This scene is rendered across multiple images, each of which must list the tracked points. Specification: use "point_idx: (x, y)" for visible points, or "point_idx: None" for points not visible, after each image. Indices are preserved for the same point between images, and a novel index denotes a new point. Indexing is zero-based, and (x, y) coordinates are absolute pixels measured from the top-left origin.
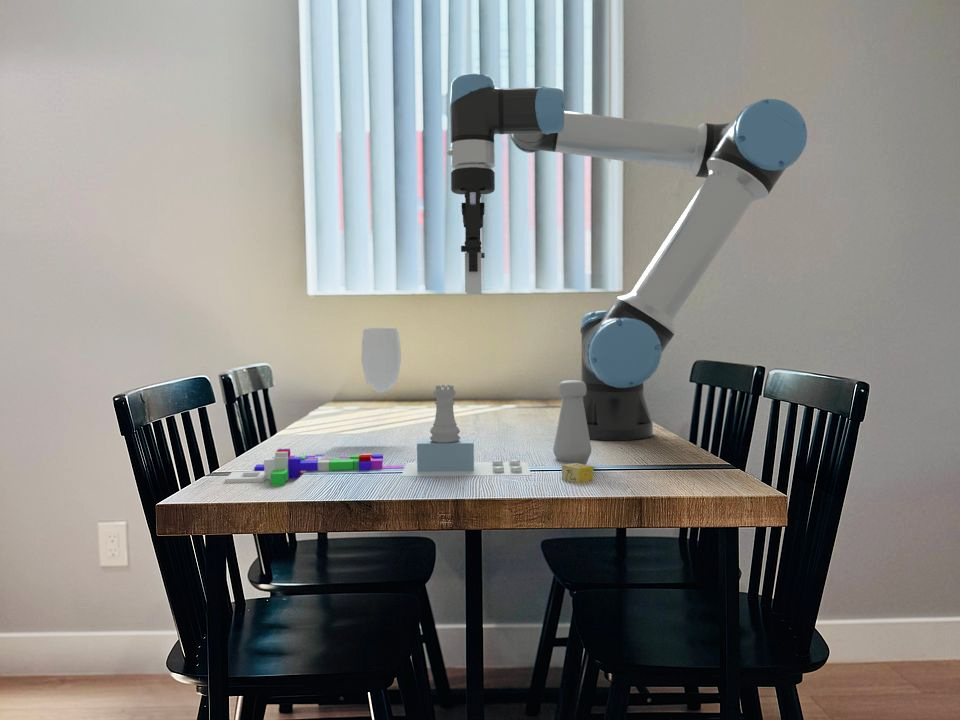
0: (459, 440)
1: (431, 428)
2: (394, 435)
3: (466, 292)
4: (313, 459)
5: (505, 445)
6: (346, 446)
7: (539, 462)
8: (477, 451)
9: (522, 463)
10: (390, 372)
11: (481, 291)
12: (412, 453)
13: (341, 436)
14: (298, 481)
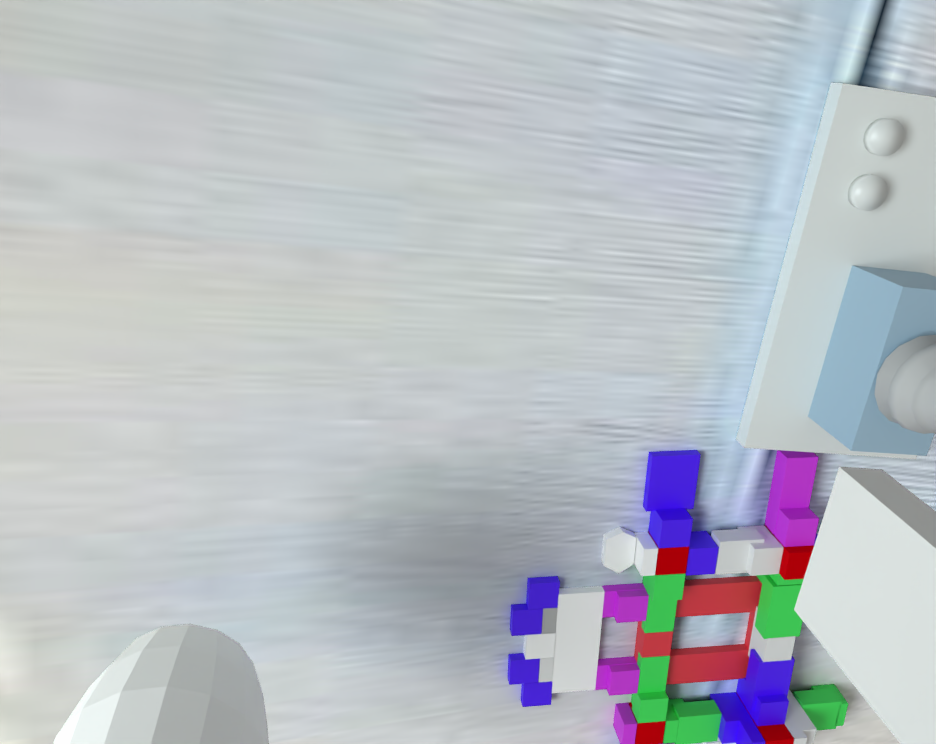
0: (919, 333)
1: (929, 432)
2: (67, 500)
3: (801, 600)
4: (636, 677)
5: (366, 81)
6: (314, 628)
7: (746, 15)
8: (485, 211)
9: (869, 106)
10: (249, 679)
11: (887, 474)
12: (483, 430)
13: (88, 668)
14: (801, 665)
